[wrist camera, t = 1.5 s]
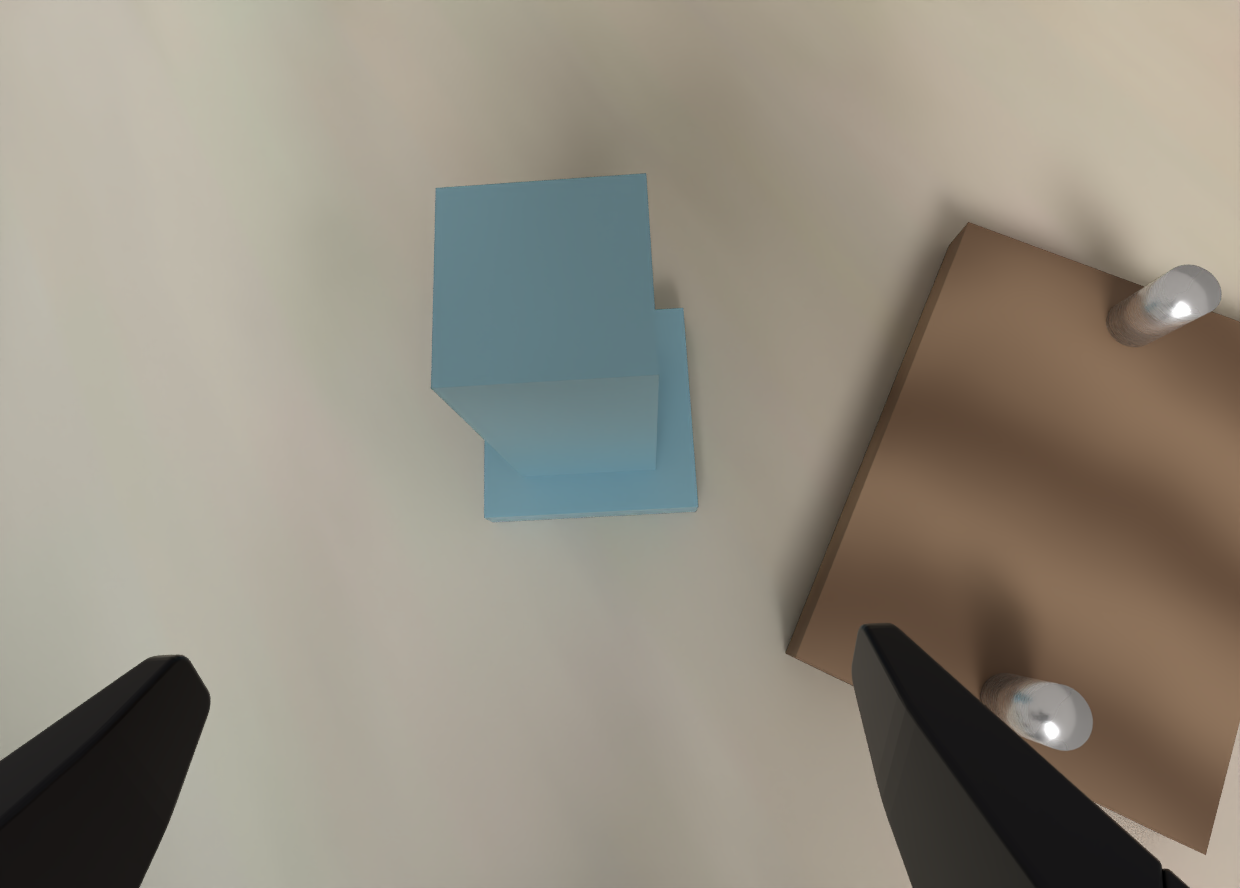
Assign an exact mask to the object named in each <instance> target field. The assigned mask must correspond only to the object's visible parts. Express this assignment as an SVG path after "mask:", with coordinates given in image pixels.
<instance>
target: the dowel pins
mask: <svg viewBox="0 0 1240 888" xmlns="http://www.w3.org/2000/svg"><path fill="white" fill-rule="evenodd" d="M1221 294H1222V293H1221V287H1220V285H1219V283H1218V281H1217V279H1216V278H1215V277H1214V276H1213V275H1212V274H1211V273H1210V272H1208V271H1207V270H1205V269H1203V268H1201V267H1198V266H1195V265H1181V266H1178V267H1175V268H1174V269H1172V270H1170V271H1169V272H1167V273H1166V274H1164V275H1162V276H1161V277H1159V278H1158V279H1156V280H1155V281H1153V282H1151V283H1150V284H1148V285H1147V286H1145V287H1143V288H1142V289H1140V290H1139V291H1137V292H1136V293H1134V294H1132V295H1131V296H1129V297H1128V298H1126V299H1124V300H1123V301H1121V302H1120V303H1118V304H1117V305H1115V306H1113V307H1112V308H1111V309H1110V310H1109V312H1108V314H1107V317H1106V326H1107V329H1108V331H1109V333H1110V335H1111V336H1112V337H1113V338H1114V339H1115V340H1116V341H1118V342H1119V343H1121V344H1123V345H1125V346H1129V347H1141V346H1145V345H1147V344H1149V343H1151V342H1153V341H1155V340H1157V339H1158V338H1160V337H1162V336H1164V335H1166V334H1168V333H1170V332H1172V331H1174V330H1176V329H1178V328H1180V327H1182V326H1184V325H1186V324H1188V323H1190V322H1192V321H1194V320H1195V319H1197V318H1199V317H1201V316H1203V315H1205V314H1207V313H1209V312H1211V311H1213V310H1214V309H1215V308H1216V307H1217V306H1218V304H1219V303H1220V300H1221ZM980 701H981V702H982V703H983V704H985V705H986V706H987V707H988V708H989V709H990V710H991V711H992V712H993V713H995V714H996V715H997V716H998V717H999V718H1000V719H1001V720H1002V721H1004V722H1005V723H1006V724H1007V725H1008V726H1009V727H1010V728H1011V729H1012V730H1014V731H1015V732H1016V733H1017V734H1018V735H1019V736H1021V737H1024V738H1026V739H1029V740H1032V741H1035V742H1037V743H1040V744H1043V745H1045V746H1048V747H1051V748H1053V749H1057V750H1062V751H1069V750H1074V749H1076V748H1079V747H1080V746H1082V745H1083V744H1084V743H1085V742H1086V741H1087V740H1088V738H1089V736H1090V734H1091V732H1092V727H1093V718H1092V713H1091V710H1090V708H1089V705H1088V704H1087V702H1086V700H1085V699H1084V698H1083V697H1082V696H1081V695H1080V694H1079V693H1078V692H1077V691H1076V690H1074V689H1072V688H1071V687H1068V686H1066V685H1062V684H1058V683H1053V682H1048V681H1043V680H1038V679H1034V678H1029V677H1024V676H1019V675H1014V674H1010V673H998V674H995V675H993V676H991V677H989V678H988V679H987V680H986V681H985V682H984V684H983V686H982V688H981V691H980Z"/></svg>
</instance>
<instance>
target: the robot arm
mask: <svg viewBox="0 0 1240 888" xmlns="http://www.w3.org/2000/svg"><path fill="white" fill-rule="evenodd" d="M851 672H852V681H853V686H854V690H855V694H856V698H857V702H858V707H859V711H860V715H861V719H862V723H863V727H864V731H865V735H866V739H867V743H868V748H869V752H870V756H871V760H872V764H873V768H874V772H875V776H876V780H877V784H878V788H879V792H880V796H881V799H882V803H883V806H884V809H885V812H886V815H887V818H888V821H889V824H890V826H891V829H892V832H893V835H894V837H895V840H896V843H897V846H898V849H899V851H900V854H901V857H902V860H903V862H904V865H905V868H906V871H907V874H908V876H909V879H910V882H911V885H912V887H913V888H1190V887H1188V886H1187V885H1186V884H1185V883H1184V882H1183V881H1182V880H1181V879H1180V878H1178V877H1177V876H1176V875H1175V874H1174V873H1173V872H1172V871H1170V870H1169V869H1162V865H1161V863H1160V861H1159V860H1158V859H1157V858H1156V857H1155V856H1153V855H1152V854H1151V853H1150V852H1149V851H1148V850H1147V849H1146V848H1144V847H1143V846H1142V845H1141V844H1140V843H1139V842H1138V841H1137V840H1135V839H1134V838H1133V837H1132V836H1131V835H1130V834H1129V833H1128V832H1127V831H1125V830H1124V829H1123V828H1122V827H1121V826H1120V825H1119V824H1118V823H1116V822H1115V821H1114V820H1113V819H1112V818H1111V817H1110V816H1109V815H1108V814H1106V813H1105V812H1104V811H1103V810H1102V809H1101V808H1100V807H1099V806H1097V805H1096V804H1095V803H1094V802H1093V801H1092V800H1091V799H1090V798H1089V797H1087V796H1086V795H1085V794H1084V793H1083V792H1082V791H1081V790H1080V789H1078V788H1077V787H1076V786H1075V785H1074V784H1073V783H1072V782H1071V781H1070V780H1068V779H1067V778H1066V777H1065V776H1064V775H1063V774H1062V773H1061V772H1059V771H1058V770H1057V769H1056V768H1055V767H1054V766H1053V765H1052V764H1051V763H1049V762H1048V761H1047V760H1046V759H1045V758H1044V757H1043V756H1042V755H1040V754H1039V753H1038V752H1037V751H1036V750H1035V749H1034V748H1033V747H1031V746H1030V745H1029V744H1028V743H1027V742H1026V741H1025V740H1024V739H1023V738H1021V737H1020V736H1019V735H1018V734H1017V733H1016V732H1015V731H1014V730H1012V729H1011V728H1010V727H1009V726H1008V725H1007V724H1006V723H1005V722H1004V721H1002V720H1001V719H1000V718H999V717H998V716H997V715H996V714H995V713H993V712H992V711H991V710H990V709H989V708H988V707H987V706H986V705H985V704H983V703H982V702H981V701H980V700H979V699H978V698H977V697H976V696H974V695H973V694H972V693H971V692H970V691H969V690H968V689H967V688H966V687H964V686H963V685H962V684H961V683H960V682H959V681H958V680H957V679H955V678H954V677H953V676H952V675H951V674H950V673H949V672H948V671H947V670H945V669H944V668H943V667H942V666H941V665H940V664H939V663H938V662H936V661H935V660H934V659H933V658H932V657H931V656H930V655H929V654H928V653H926V652H925V651H924V650H923V649H922V648H921V647H920V646H919V645H917V644H916V643H915V642H914V641H913V640H912V639H911V638H910V637H908V636H907V635H906V634H905V633H904V632H903V631H902V630H901V629H900V628H898V627H897V626H896V625H894V624H891V623H870V624H863V625H861V626H860V628H859V630H858V633H857V639H856V644H855V650H854V655H853V661H852V670H851ZM209 709H210V694H209V691H208V689H207V688H206V686H205V684H204V683H203V681H202V680H201V678H200V676H199V675H198V673H197V671H196V670H195V668H194V666H193V665H192V663H191V661H190V660H189V659H188V658H187V657H185V656H183V655H159V656H153V657H150V658H148V659H146V660H144V661H143V662H141V663H140V664H138V665H137V666H136V667H134V668H133V669H131V670H130V671H128V672H127V673H125V674H124V675H123V676H121V677H120V678H118V679H117V680H115V681H114V682H113V683H111V684H110V685H108V686H107V687H105V688H104V689H103V690H101V691H100V692H98V693H97V694H95V695H94V696H93V697H91V698H90V699H88V700H87V701H85V702H84V703H83V704H81V705H80V706H78V707H77V708H75V709H74V710H73V711H71V712H70V713H68V714H67V715H65V716H64V717H63V718H61V719H60V720H58V721H57V722H55V723H54V724H52V725H51V726H50V727H48V728H47V729H45V730H44V731H42V732H41V733H40V734H38V735H37V736H35V737H34V738H32V739H31V740H30V741H28V742H27V743H25V744H24V745H22V746H21V747H20V748H18V749H17V750H15V751H14V752H12V753H11V754H10V755H8V756H7V757H5V758H4V759H2V760H1V761H0V888H139V887H140V885H141V883H142V881H143V879H144V877H145V874H146V872H147V870H148V868H149V866H150V864H151V862H152V859H153V857H154V855H155V853H156V851H157V849H158V846H159V844H160V842H161V840H162V837H163V835H164V833H165V831H166V828H167V826H168V823H169V821H170V818H171V816H172V813H173V810H174V808H175V805H176V803H177V800H178V797H179V794H180V791H181V789H182V786H183V783H184V780H185V777H186V775H187V772H188V769H189V766H190V763H191V761H192V758H193V755H194V752H195V749H196V747H197V744H198V741H199V738H200V735H201V733H202V730H203V727H204V724H205V722H206V719H207V716H208V713H209Z"/></svg>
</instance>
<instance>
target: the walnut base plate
mask: <svg viewBox="0 0 1240 888" xmlns="http://www.w3.org/2000/svg"><path fill="white" fill-rule="evenodd" d="M1143 287H1144V286H1141V285H1138V284H1135V283H1133V282H1130V281H1127V280H1125V279H1122V278H1119V277H1116V276H1114V275H1111V274H1108V273H1106V272H1103V271H1100V270H1097V269H1095V268H1092V267H1089V266H1086V265H1084V264H1081V263H1078V262H1076V261H1073V260H1070V259H1067V258H1065V257H1062V256H1059V255H1056V254H1054V253H1051V252H1048V251H1046V250H1043V249H1040V248H1037V247H1035V246H1032V245H1029V244H1027V243H1024V242H1021V241H1018V240H1016V239H1013V238H1010V237H1007V236H1005V235H1002V234H999V233H997V232H994V231H991V230H988V229H986V228H983V227H980V226H978V225H975V224H972V223H969V222H968V223H967V225H966V226H965V227H964V228H963V229H962V231H961V232H960V233H959V234H958V235H957V236H956V238H955V239H954V240H953V241H952V242H951V244H950V245H949V247H948V250H947V252H946V255H945V257H944V259H943V262H942V264H941V267H940V269H939V272H938V274H937V277H936V279H935V282H934V284H933V287H932V289H931V292H930V294H929V297H928V299H927V302H926V304H925V307H924V309H923V312H922V314H921V317H920V319H919V322H918V324H917V327H916V329H915V332H914V334H913V337H912V339H911V342H910V344H909V347H908V349H907V352H906V354H905V357H904V359H903V362H902V364H901V367H900V369H899V372H898V374H897V377H896V379H895V382H894V384H893V387H892V389H891V392H890V394H889V397H888V399H887V401H886V404H885V406H884V409H883V411H882V414H881V416H880V419H879V421H878V424H877V426H876V429H875V431H874V434H873V436H872V439H871V441H870V444H869V446H868V449H867V451H866V454H865V456H864V459H863V461H862V464H861V466H860V469H859V471H858V474H857V476H856V479H855V481H854V484H853V486H852V489H851V491H850V494H849V496H848V499H847V501H846V504H845V506H844V509H843V511H842V514H841V516H840V519H839V521H838V524H837V526H836V529H835V531H834V534H833V536H832V539H831V541H830V543H829V546H828V548H827V551H826V553H825V556H824V558H823V561H822V563H821V566H820V568H819V571H818V573H817V576H816V578H815V581H814V583H813V586H812V588H811V591H810V593H809V596H808V598H807V601H806V603H805V606H804V608H803V611H802V613H801V616H800V618H799V621H798V623H797V626H796V628H795V631H794V633H793V636H792V638H791V641H790V643H789V646H788V648H787V651H786V654H788V655H790V656H792V657H794V658H796V659H798V660H800V661H802V662H804V663H807V664H809V665H811V666H813V667H815V668H817V669H819V670H821V671H823V672H825V673H827V674H829V675H831V676H834V677H836V678H838V679H840V680H842V681H844V682H846V683H848V684H850V685H852V686H853V681H852V672H851V670H852V661H853V655H854V650H855V644H856V639H857V633H858V630H859V628H860V626H861V625H863V624H870V623H891V624H894V625H896V626H897V627H898V628H900V629H901V630H902V631H903V632H904V633H905V634H906V635H907V636H908V637H910V638H911V639H912V640H913V641H914V642H915V643H916V644H917V645H919V646H920V647H921V648H922V649H923V650H924V651H925V652H926V653H928V654H929V655H930V656H931V657H932V658H933V659H934V660H935V661H936V662H938V663H939V664H940V665H941V666H942V667H943V668H944V669H945V670H947V671H948V672H949V673H950V674H951V675H952V676H953V677H954V678H955V679H957V680H958V681H959V682H960V683H961V684H962V685H963V686H964V687H966V688H967V689H968V690H969V691H970V692H971V693H972V694H973V695H974V696H976V697H977V698H978V699H979V700H980V691H981V688H982V686H983V684H984V682H985V681H986V680H987V679H988V678H989V677H991V676H993V675H995V674H998V673H1010V674H1014V675H1019V676H1024V677H1029V678H1034V679H1038V680H1043V681H1048V682H1053V683H1058V684H1062V685H1066V686H1068V687H1071V688H1072V689H1074V690H1076V691H1077V692H1078V693H1079V694H1080V695H1081V696H1082V697H1083V698H1084V699H1085V700H1086V702H1087V704H1088V705H1089V708H1090V710H1091V713H1092V718H1093V727H1092V732H1091V734H1090V736H1089V738H1088V740H1087V741H1086V742H1085V743H1084V744H1083V745H1082V746H1080V747H1079V748H1076V749H1074V750H1069V751H1062V750H1057V749H1053V748H1051V747H1048V746H1045V745H1043V744H1040V743H1037V742H1035V741H1032V740H1029V739H1026V738H1024V737H1021V736H1020V737H1021V738H1023V739H1024V740H1025V741H1026V742H1027V743H1028V744H1029V745H1030V746H1031V747H1033V748H1034V749H1035V750H1036V751H1037V752H1038V753H1039V754H1040V755H1042V756H1043V757H1044V758H1045V759H1046V760H1047V761H1048V762H1049V763H1051V764H1052V765H1053V766H1054V767H1055V768H1056V769H1057V770H1058V771H1059V772H1061V773H1062V774H1063V775H1064V776H1065V777H1066V778H1067V779H1068V780H1070V781H1071V782H1072V783H1073V784H1074V785H1075V786H1076V787H1077V788H1078V789H1080V790H1081V791H1082V792H1083V793H1084V794H1085V795H1086V796H1087V797H1089V798H1090V799H1091V800H1092V801H1093V802H1095V803H1097V804H1099V805H1101V806H1103V807H1105V808H1108V809H1110V810H1112V811H1114V812H1116V813H1118V814H1120V815H1122V816H1124V817H1126V818H1128V819H1130V820H1132V821H1135V822H1137V823H1139V824H1141V825H1143V826H1145V827H1147V828H1149V829H1151V830H1153V831H1155V832H1157V833H1159V834H1162V835H1164V836H1166V837H1168V838H1170V839H1172V840H1174V841H1177V842H1179V843H1181V844H1183V845H1185V846H1187V847H1190V848H1192V849H1194V850H1196V851H1198V852H1200V853H1203V854H1205V855H1206V852H1207V848H1208V844H1209V840H1210V836H1211V832H1212V828H1213V824H1214V820H1215V816H1216V813H1217V809H1218V805H1219V801H1220V797H1221V793H1222V789H1223V785H1224V781H1225V777H1226V773H1227V769H1228V766H1229V762H1230V758H1231V754H1232V750H1233V746H1234V742H1235V738H1236V734H1237V730H1238V726H1239V722H1240V322H1239V321H1236V320H1233V319H1231V318H1228V317H1225V316H1223V315H1220V314H1217V313H1214V312H1212V311H1211V312H1209V313H1207V314H1205V315H1203V316H1201V317H1199V318H1197V319H1195V320H1194V321H1192V322H1190V323H1188V324H1186V325H1184V326H1182V327H1180V328H1178V329H1176V330H1174V331H1172V332H1170V333H1168V334H1166V335H1164V336H1162V337H1160V338H1158V339H1157V340H1155V341H1153V342H1151V343H1149V344H1147V345H1145V346H1141V347H1129V346H1125V345H1123V344H1121V343H1119V342H1118V341H1116V340H1115V339H1114V338H1113V337H1112V336H1111V335H1110V333H1109V331H1108V329H1107V326H1106V317H1107V314H1108V312H1109V310H1110V309H1111V308H1112V307H1113V306H1115V305H1117V304H1118V303H1120V302H1121V301H1123V300H1124V299H1126V298H1128V297H1129V296H1131V295H1132V294H1134V293H1136V292H1137V291H1139V290H1140V289H1142V288H1143Z"/></svg>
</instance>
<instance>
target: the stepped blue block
mask: <svg viewBox="0 0 1240 888" xmlns="http://www.w3.org/2000/svg"><path fill="white" fill-rule="evenodd" d="M431 389H432V390H433V391H434V392H435V393H437V394H438V395H439V396H440V397H441V398H442V399H443V400H444V401H445V402H446V403H447V404H448V405H449V406H450V407H451V408H452V409H453V410H454V411H455V412H456V413H457V414H458V415H459V416H460V417H461V418H463V419H464V420H465V421H466V422H467V423H468V424H469V425H470V426H471V427H472V428H473V429H474V430H475V431H476V432H477V433H478V434H479V435H480V436H481V437H482V438H483V439H484V440H485V459H484V518H485V519H487V520H489V521H492V522H507V521H526V520H545V519H564V518H583V517H603V516H622V515H641V514H660V513H679V512H696V510H697V508H698V498H697V485H696V472H695V458H694V445H693V432H692V418H691V405H690V392H689V378H688V365H687V351H686V338H685V325H684V311H683V308H673V309H657V310H655V304H654V288H653V272H652V257H651V241H650V225H649V209H648V194H647V178H646V173H644V174H629V175H615V176H601V177H587V178H572V179H558V180H544V181H530V182H515V183H501V184H487V185H473V186H458V187H444V188H436V200H435V243H434V286H433V328H432V371H431Z"/></svg>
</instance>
